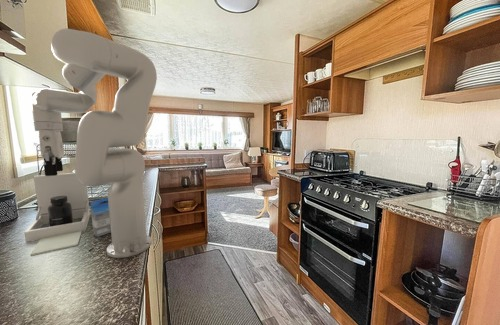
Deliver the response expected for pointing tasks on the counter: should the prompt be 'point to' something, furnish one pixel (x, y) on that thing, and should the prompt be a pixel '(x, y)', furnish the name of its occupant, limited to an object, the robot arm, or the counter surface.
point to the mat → (57, 243)
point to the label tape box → (100, 217)
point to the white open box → (44, 192)
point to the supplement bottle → (60, 211)
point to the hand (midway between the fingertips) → (54, 173)
